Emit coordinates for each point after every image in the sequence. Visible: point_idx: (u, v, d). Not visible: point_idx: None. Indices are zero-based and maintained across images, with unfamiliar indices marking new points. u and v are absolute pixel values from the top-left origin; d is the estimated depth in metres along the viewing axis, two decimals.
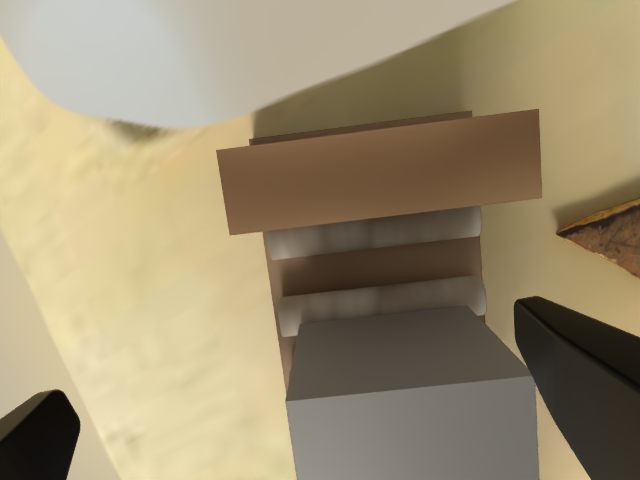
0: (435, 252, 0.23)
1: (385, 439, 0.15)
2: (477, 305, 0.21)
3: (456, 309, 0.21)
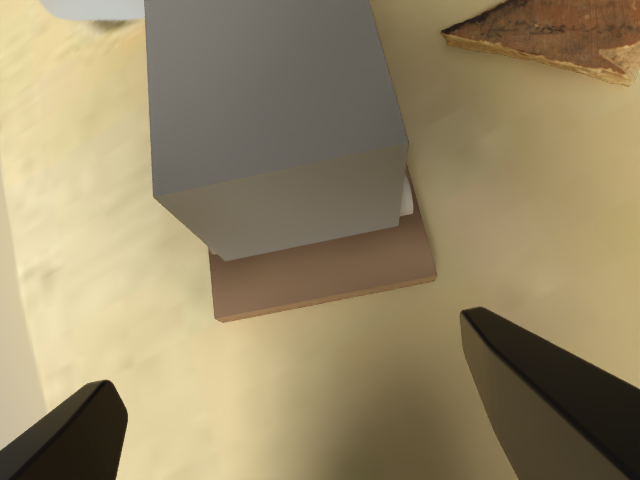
0: None
1: None
2: None
3: None
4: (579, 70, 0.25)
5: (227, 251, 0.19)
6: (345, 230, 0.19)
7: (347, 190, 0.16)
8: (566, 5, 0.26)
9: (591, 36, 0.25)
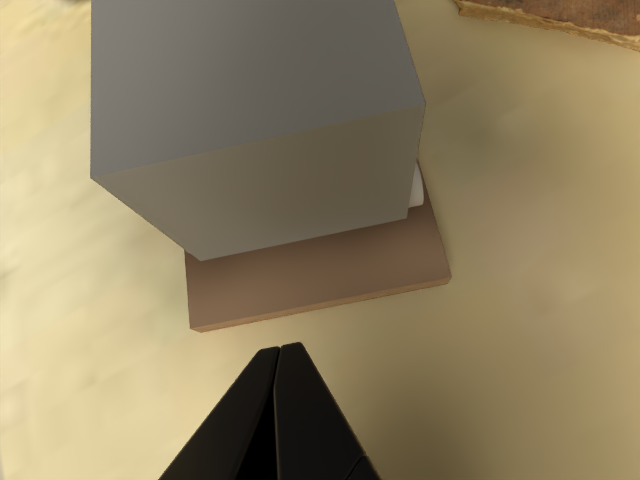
0: None
1: None
2: None
3: None
4: (613, 39, 0.21)
5: (200, 249, 0.16)
6: (343, 223, 0.16)
7: (345, 172, 0.12)
8: None
9: (627, 0, 0.21)
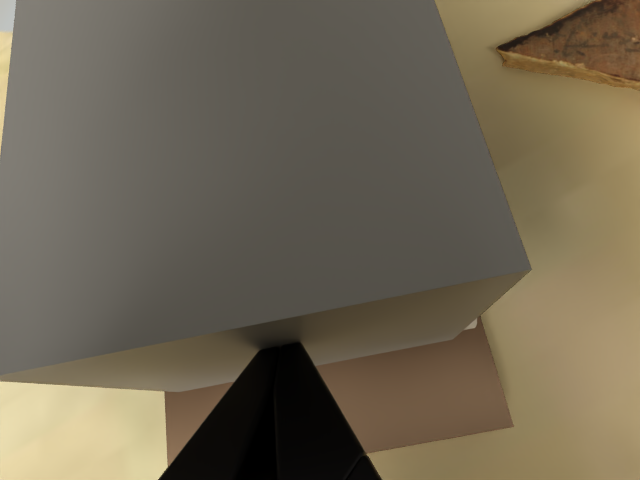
0: None
1: None
2: None
3: None
4: None
5: (177, 388, 0.12)
6: (369, 352, 0.12)
7: (382, 327, 0.08)
8: None
9: None
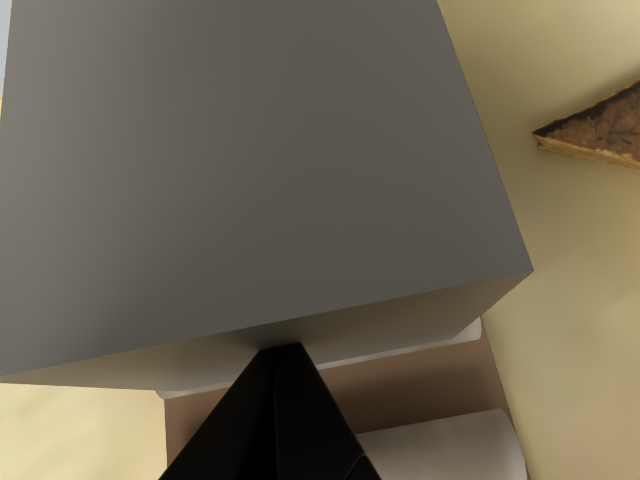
0: None
1: None
2: None
3: None
4: None
5: (176, 387, 0.12)
6: (368, 351, 0.12)
7: (383, 327, 0.08)
8: None
9: None
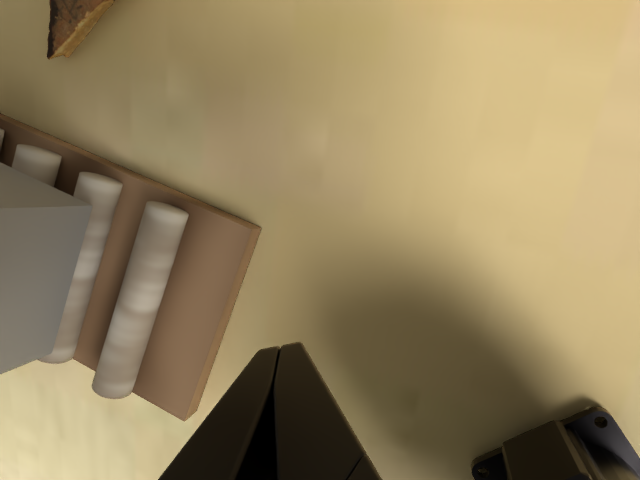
0: None
1: None
2: (23, 158, 0.22)
3: None
4: None
5: (34, 353, 0.21)
6: (66, 253, 0.21)
7: None
8: None
9: None
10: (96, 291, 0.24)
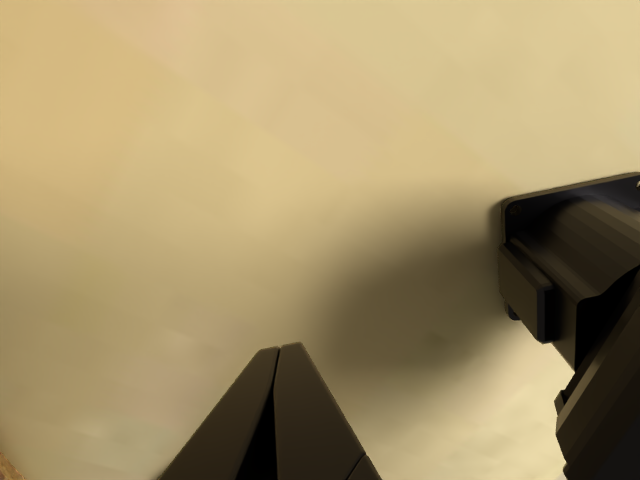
0: None
1: None
2: None
3: None
4: None
5: None
6: None
7: None
8: None
9: None
10: None
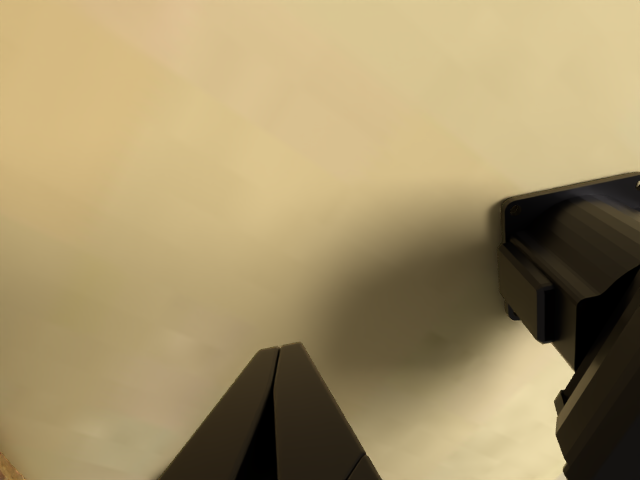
0: None
1: None
2: None
3: None
4: None
5: None
6: None
7: None
8: None
9: None
10: None
